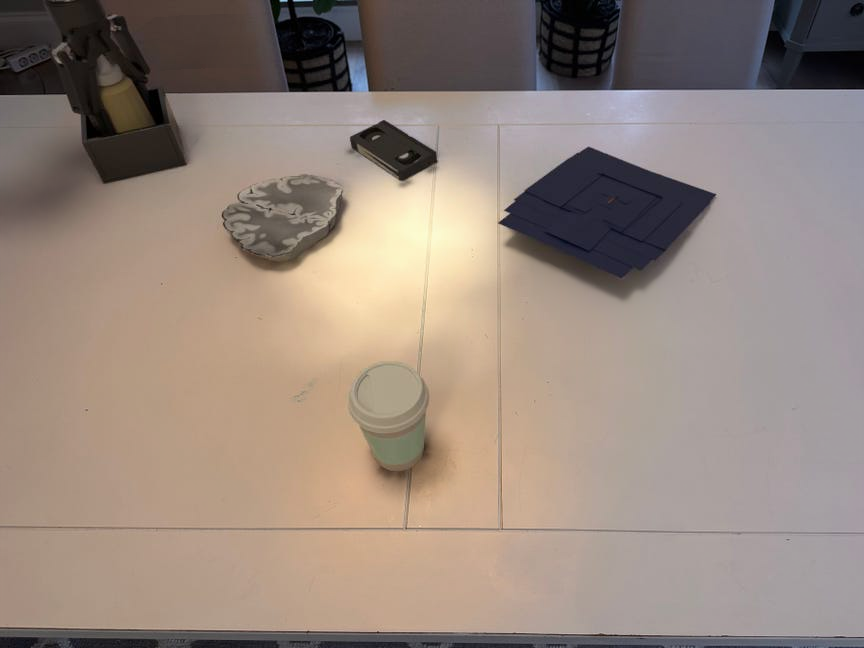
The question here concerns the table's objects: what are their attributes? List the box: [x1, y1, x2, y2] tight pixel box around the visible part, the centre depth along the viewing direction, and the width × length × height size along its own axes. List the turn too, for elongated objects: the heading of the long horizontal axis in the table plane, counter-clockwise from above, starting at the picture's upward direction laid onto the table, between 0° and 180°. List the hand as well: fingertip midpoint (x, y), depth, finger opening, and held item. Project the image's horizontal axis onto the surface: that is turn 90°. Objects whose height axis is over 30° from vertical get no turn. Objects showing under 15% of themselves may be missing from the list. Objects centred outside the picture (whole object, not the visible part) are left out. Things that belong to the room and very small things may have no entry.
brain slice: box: [221, 173, 344, 262], centre depth 104 cm, size 20×17×3 cm
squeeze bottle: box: [95, 54, 156, 133], centre depth 111 cm, size 8×8×18 cm
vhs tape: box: [349, 119, 438, 182], centre depth 116 cm, size 14×8×2 cm, turn 44°
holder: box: [80, 85, 187, 185], centre depth 116 cm, size 14×14×8 cm
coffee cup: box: [347, 360, 430, 472], centre depth 74 cm, size 8×8×12 cm
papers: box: [497, 146, 717, 280], centre depth 104 cm, size 24×30×4 cm
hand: (132, 132), depth 115 cm, fingers closed on squeeze bottle, 8 cm apart
